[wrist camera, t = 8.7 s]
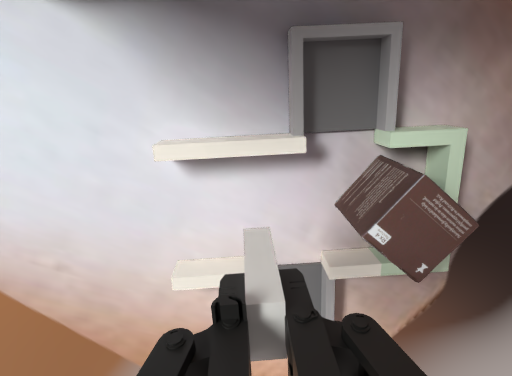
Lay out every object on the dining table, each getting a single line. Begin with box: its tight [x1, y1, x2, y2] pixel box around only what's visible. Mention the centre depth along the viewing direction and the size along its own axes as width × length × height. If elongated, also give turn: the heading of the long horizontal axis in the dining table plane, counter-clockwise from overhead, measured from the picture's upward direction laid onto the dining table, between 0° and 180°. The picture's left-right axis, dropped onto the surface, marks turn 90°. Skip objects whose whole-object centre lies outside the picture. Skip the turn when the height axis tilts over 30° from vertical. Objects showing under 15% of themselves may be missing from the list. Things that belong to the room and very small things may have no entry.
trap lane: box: [152, 22, 468, 321], centre depth 27 cm, size 28×24×3 cm
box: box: [335, 155, 479, 283], centre depth 25 cm, size 6×6×7 cm
